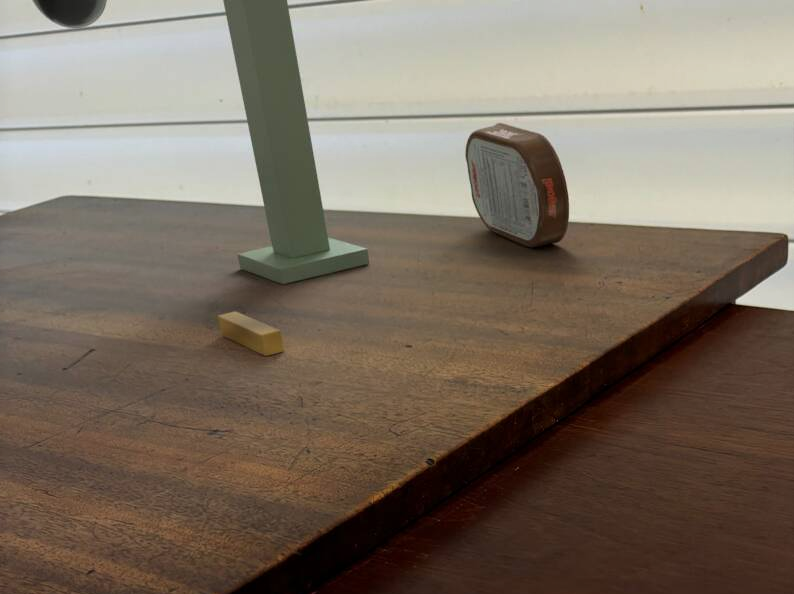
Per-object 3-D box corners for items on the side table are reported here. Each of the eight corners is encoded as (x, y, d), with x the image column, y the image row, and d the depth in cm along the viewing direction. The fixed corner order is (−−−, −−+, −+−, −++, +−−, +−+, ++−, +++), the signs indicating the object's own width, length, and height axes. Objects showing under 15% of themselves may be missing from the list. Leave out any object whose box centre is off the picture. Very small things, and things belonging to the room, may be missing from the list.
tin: (575, 251, 95) (568, 135, 90) (540, 257, 94) (532, 141, 89) (498, 221, 106) (489, 117, 102) (467, 226, 105) (456, 122, 100)
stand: (222, 262, 100) (118, -201, 82) (305, 244, 104) (223, -203, 86) (302, 292, 90) (204, -228, 72) (391, 270, 94) (319, -229, 76)
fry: (222, 335, 82) (217, 315, 81) (240, 331, 83) (235, 310, 82) (265, 356, 77) (261, 335, 77) (284, 351, 78) (280, 330, 77)
